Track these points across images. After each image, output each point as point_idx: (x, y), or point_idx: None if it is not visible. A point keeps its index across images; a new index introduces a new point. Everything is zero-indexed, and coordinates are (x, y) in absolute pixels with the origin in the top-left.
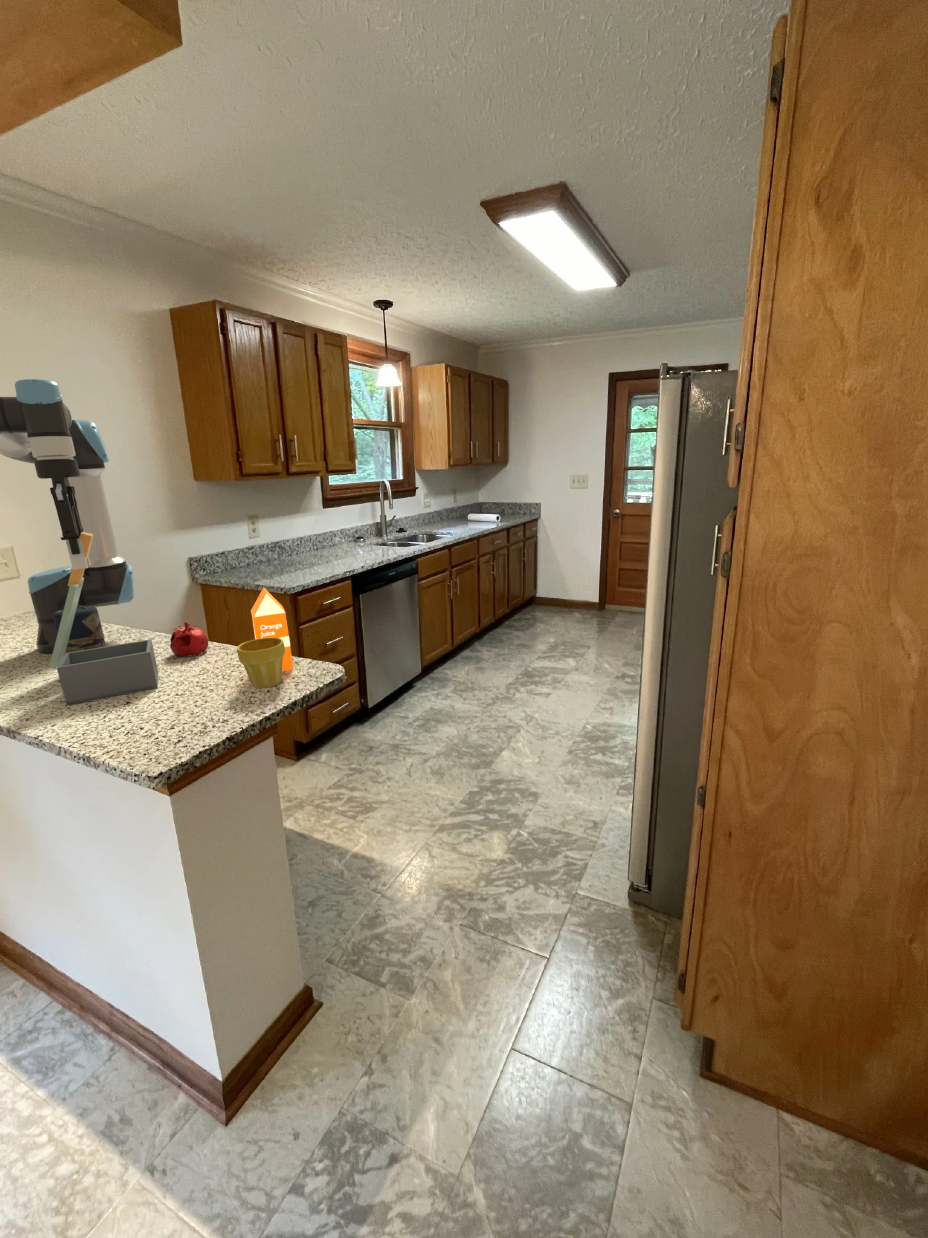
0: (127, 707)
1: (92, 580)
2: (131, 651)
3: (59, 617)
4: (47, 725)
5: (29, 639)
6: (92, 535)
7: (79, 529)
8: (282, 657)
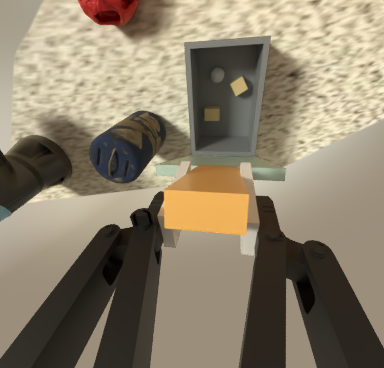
0: (309, 73)
1: None
2: (193, 77)
3: (138, 175)
4: (296, 147)
5: None
6: (206, 191)
7: (153, 244)
8: None
